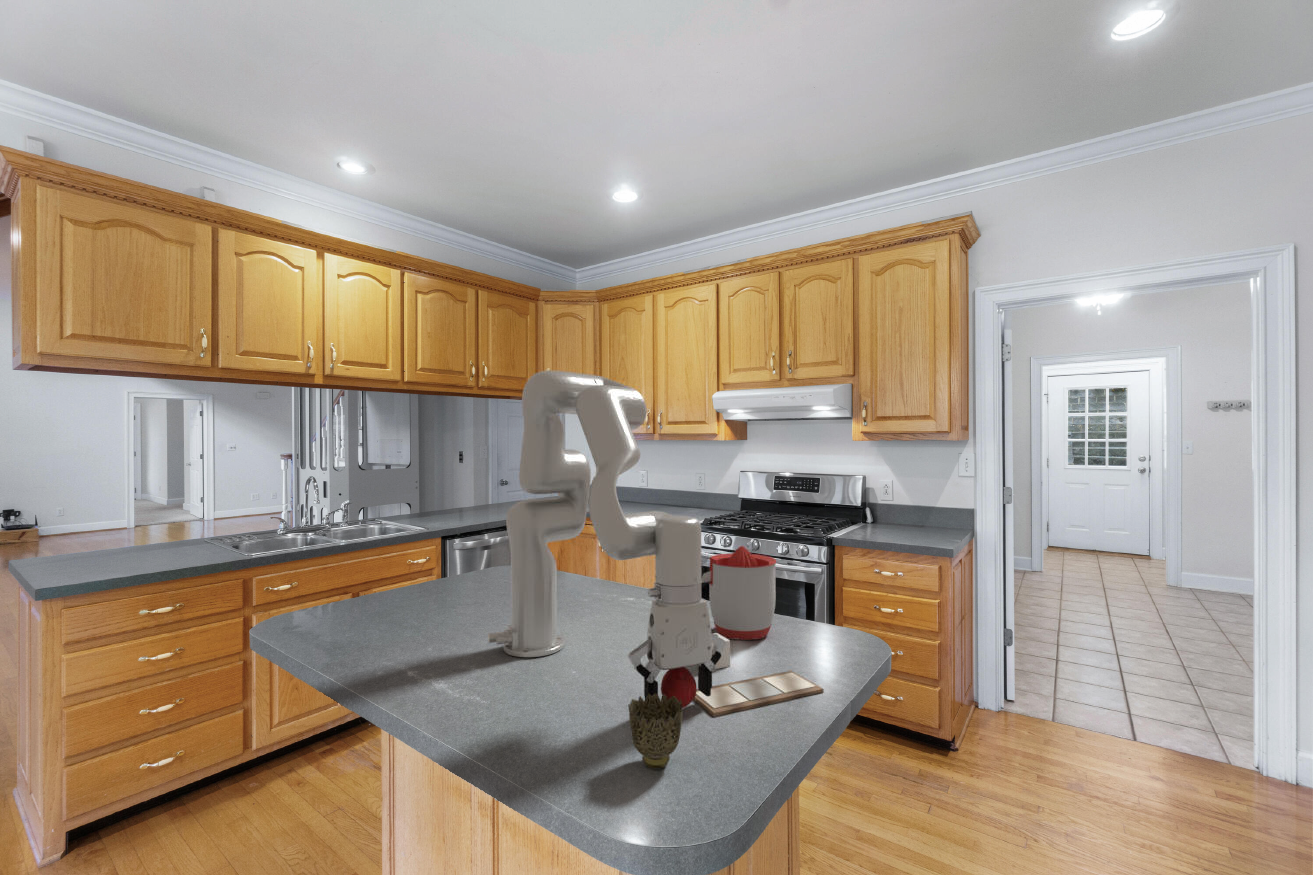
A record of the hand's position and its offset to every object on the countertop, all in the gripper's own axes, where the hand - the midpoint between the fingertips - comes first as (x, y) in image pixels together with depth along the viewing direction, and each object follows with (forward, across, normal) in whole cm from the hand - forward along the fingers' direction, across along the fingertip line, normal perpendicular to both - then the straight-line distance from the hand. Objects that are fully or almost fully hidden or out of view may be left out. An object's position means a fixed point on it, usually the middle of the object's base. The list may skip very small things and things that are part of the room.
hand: (678, 698), depth 94 cm
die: (+2, +15, +15) cm, 21 cm away
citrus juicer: (+2, +30, +29) cm, 42 cm away
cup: (+2, -10, -13) cm, 17 cm away
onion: (+2, 0, 0) cm, 2 cm away
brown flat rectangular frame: (+2, +15, 0) cm, 15 cm away
